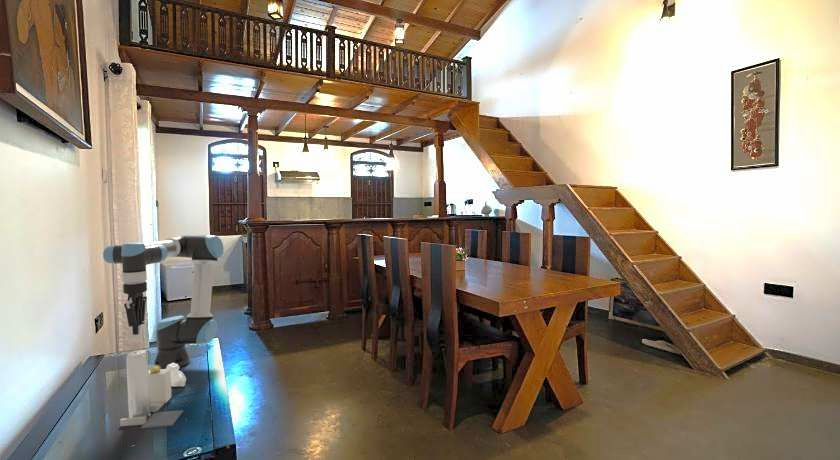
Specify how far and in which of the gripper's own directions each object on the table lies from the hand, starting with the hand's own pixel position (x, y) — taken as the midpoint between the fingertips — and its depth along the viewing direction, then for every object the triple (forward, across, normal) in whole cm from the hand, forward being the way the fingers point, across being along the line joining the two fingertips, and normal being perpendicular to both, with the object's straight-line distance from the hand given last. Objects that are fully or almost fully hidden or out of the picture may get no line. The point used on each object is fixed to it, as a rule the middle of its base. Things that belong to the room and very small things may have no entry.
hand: (137, 341), depth 155 cm
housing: (+25, +5, +5) cm, 26 cm away
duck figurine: (+26, -16, +8) cm, 31 cm away
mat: (+25, +14, +13) cm, 32 cm away
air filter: (+26, +11, +5) cm, 28 cm away
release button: (+15, -2, +5) cm, 16 cm away
